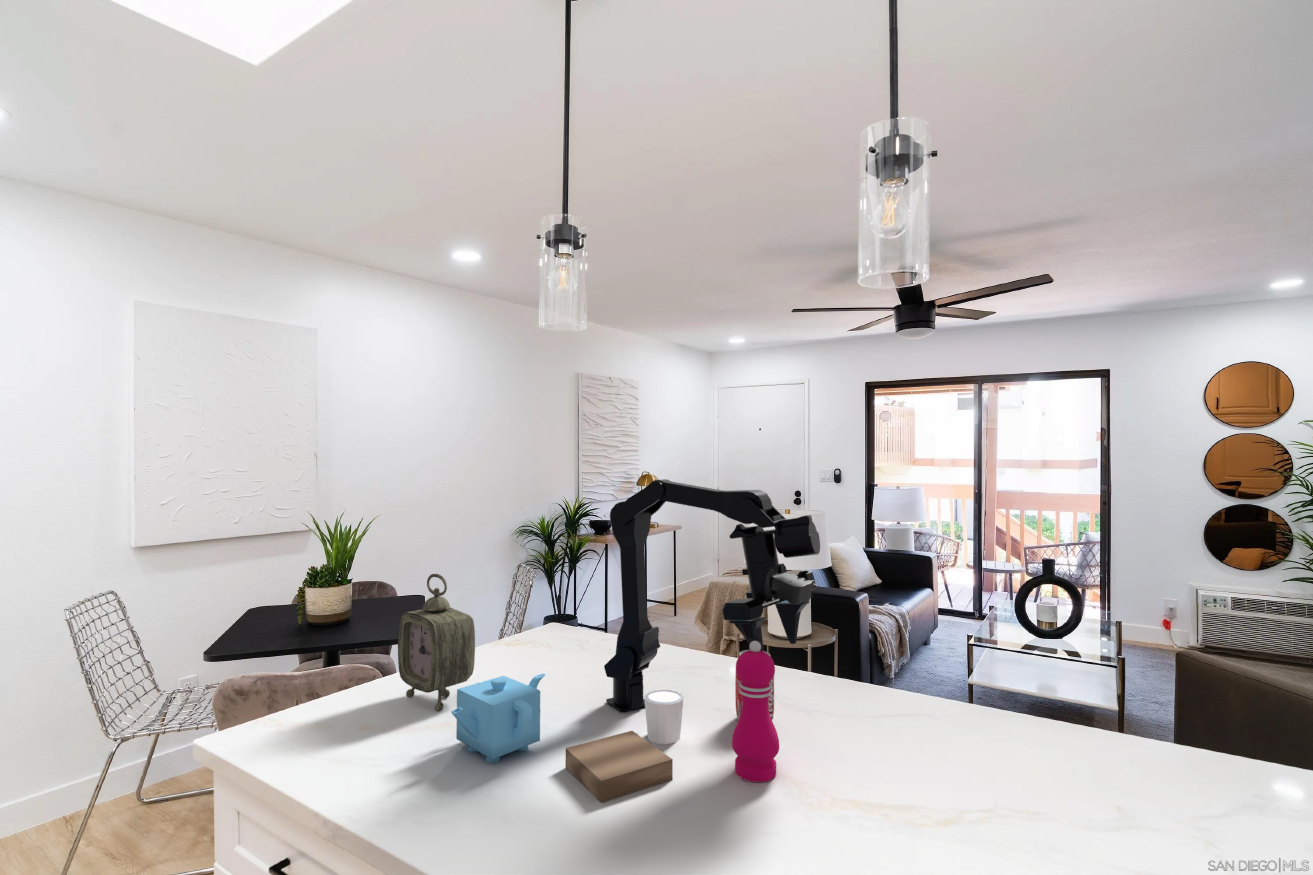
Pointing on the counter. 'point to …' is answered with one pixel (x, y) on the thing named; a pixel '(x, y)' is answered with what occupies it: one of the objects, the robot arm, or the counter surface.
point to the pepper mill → (755, 718)
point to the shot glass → (664, 716)
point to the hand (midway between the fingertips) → (777, 650)
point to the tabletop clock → (435, 646)
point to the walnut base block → (618, 765)
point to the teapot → (498, 716)
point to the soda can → (739, 695)
